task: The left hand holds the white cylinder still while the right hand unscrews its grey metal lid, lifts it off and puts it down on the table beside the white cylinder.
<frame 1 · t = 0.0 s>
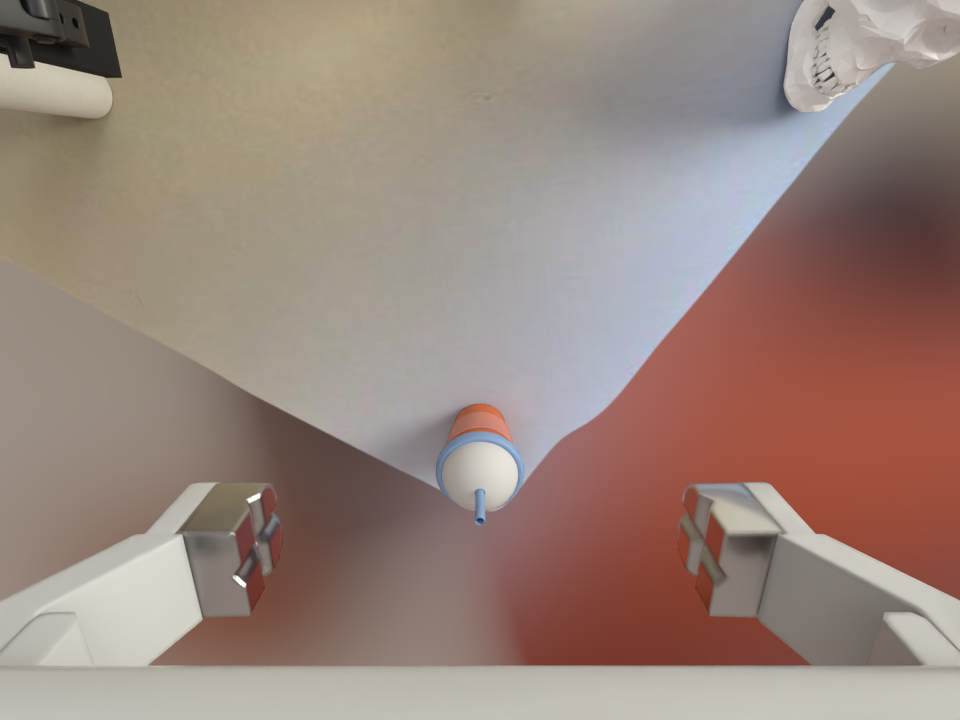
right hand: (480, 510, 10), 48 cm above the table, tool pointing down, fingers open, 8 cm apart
cup with straw: (479, 425, 64), on the table
white cylinder: (88, 92, 51), on the table
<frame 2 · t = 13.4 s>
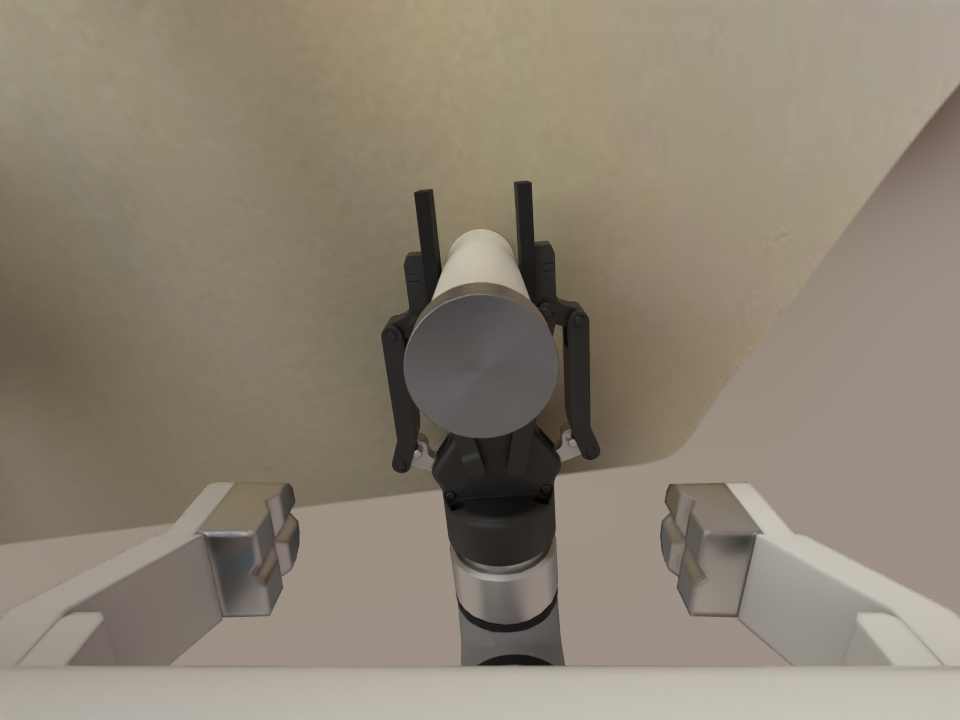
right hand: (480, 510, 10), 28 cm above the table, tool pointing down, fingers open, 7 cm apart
left hand: (472, 187, 29), fingers closed on white cylinder, 5 cm apart
white cylinder: (480, 263, 36), on the table, touching left hand
lid: (481, 366, 18), point 20 cm above the table, screwed on, not yet turned
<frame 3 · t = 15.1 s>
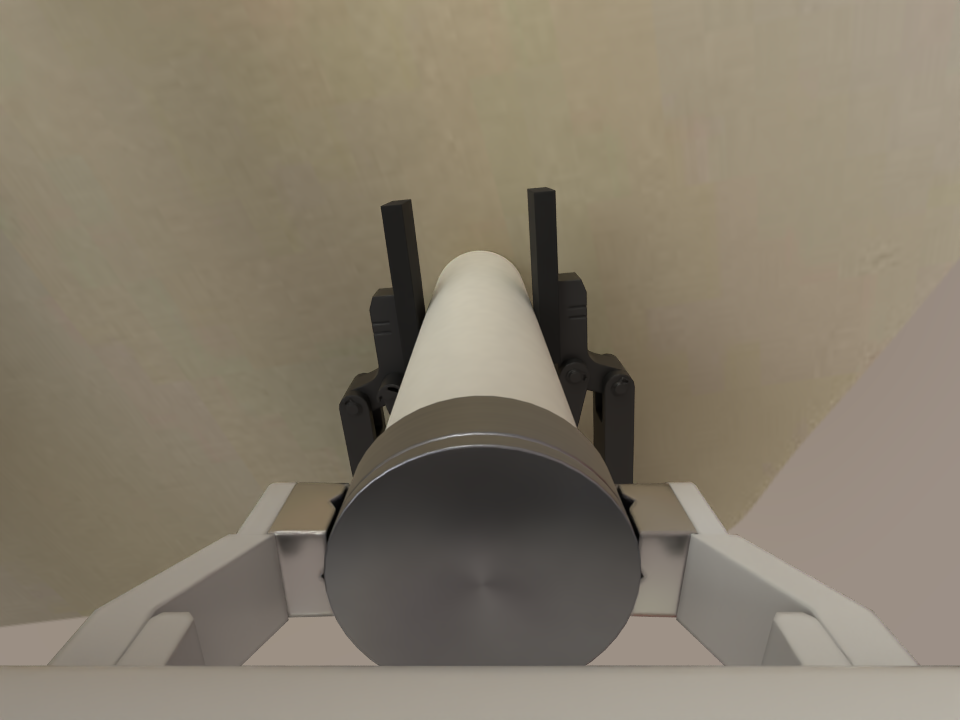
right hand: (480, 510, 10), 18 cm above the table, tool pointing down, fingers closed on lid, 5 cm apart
white cylinder: (480, 295, 27), on the table, touching left hand
lid: (482, 569, 9), point 20 cm above the table, screwed on, not yet turned, touching right hand
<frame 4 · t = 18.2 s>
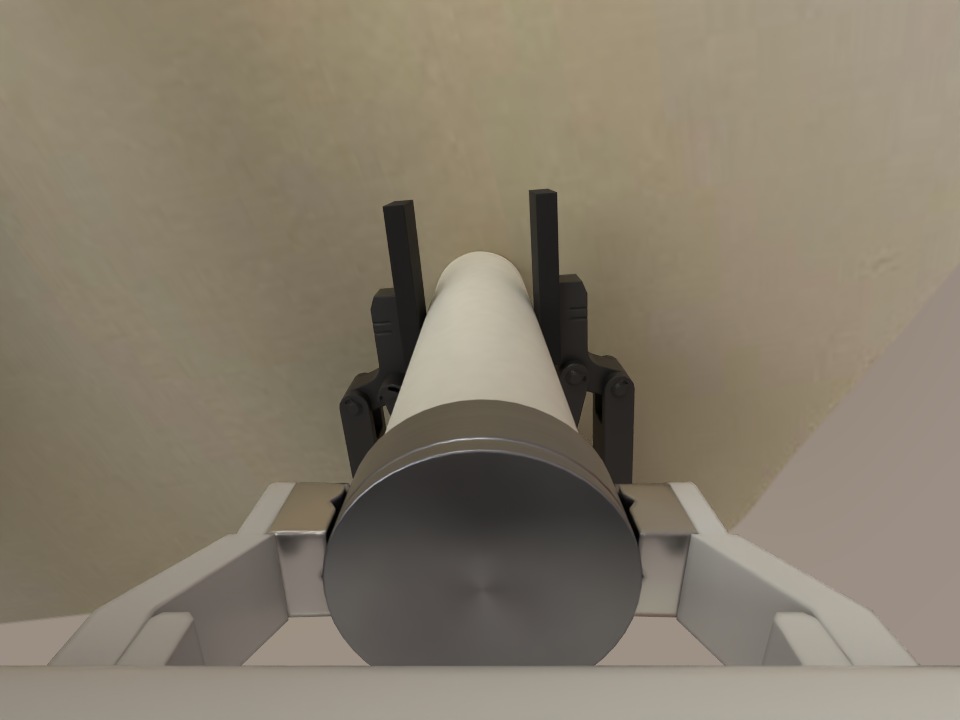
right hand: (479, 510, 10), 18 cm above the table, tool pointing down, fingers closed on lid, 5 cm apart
white cylinder: (480, 296, 27), on the table, touching left hand
lid: (482, 574, 9), point 20 cm above the table, turned 74° so far, risen 0.1 cm, still on its thread, touching right hand
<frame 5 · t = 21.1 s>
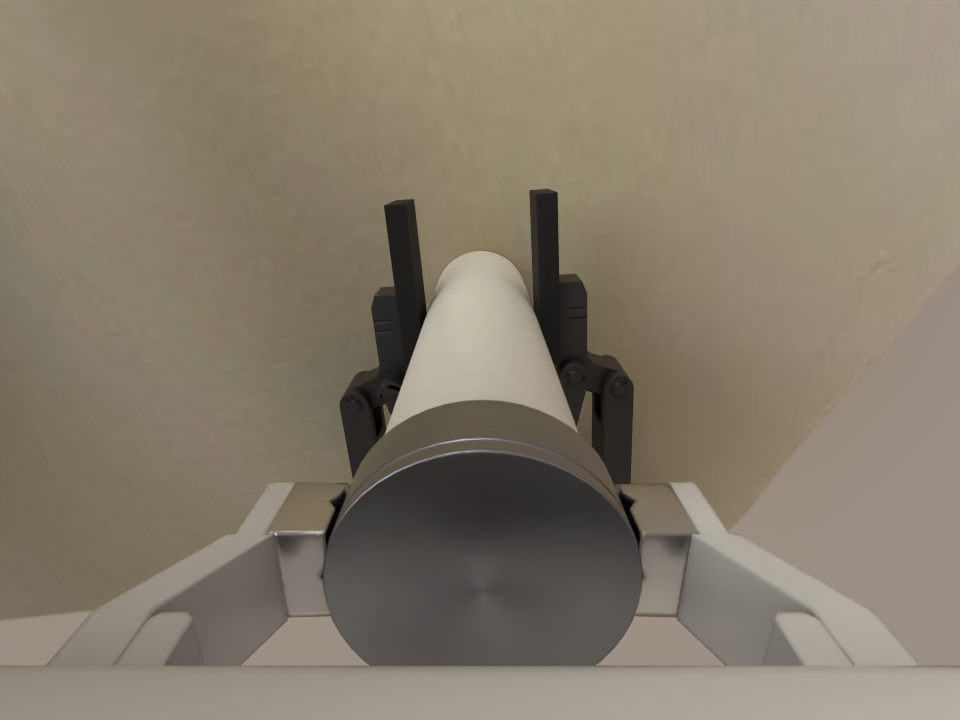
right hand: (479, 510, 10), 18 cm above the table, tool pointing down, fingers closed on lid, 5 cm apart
white cylinder: (480, 295, 28), on the table, touching left hand
lid: (482, 574, 9), point 20 cm above the table, turned 148° so far, risen 0.2 cm, still on its thread, touching right hand
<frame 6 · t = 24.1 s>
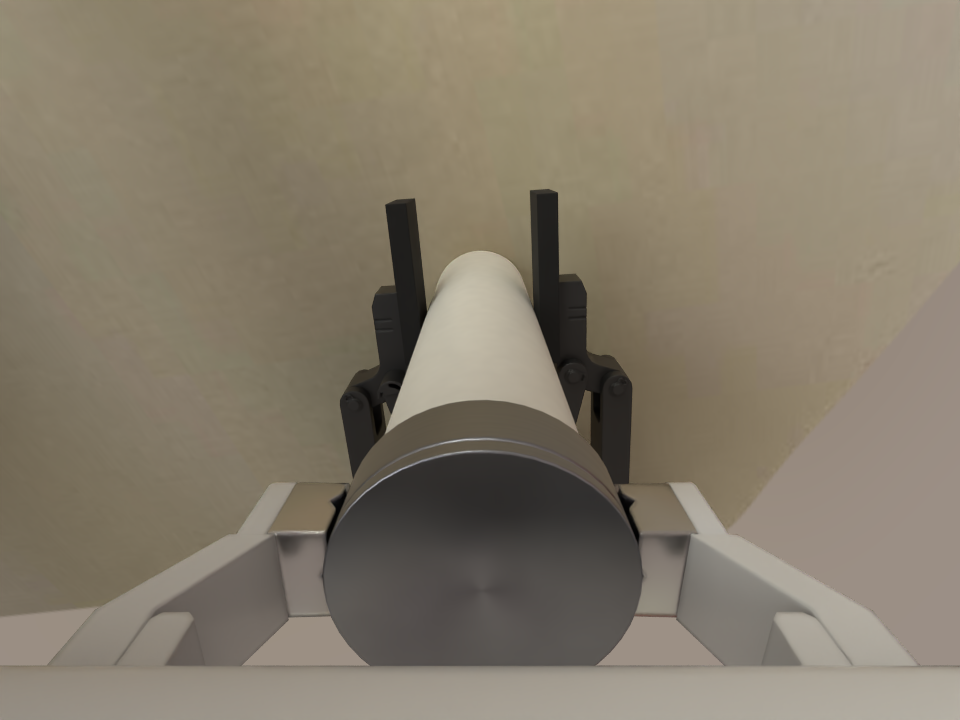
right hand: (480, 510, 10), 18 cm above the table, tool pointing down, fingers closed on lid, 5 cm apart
white cylinder: (480, 295, 28), on the table, touching left hand
lid: (482, 574, 9), point 20 cm above the table, turned 221° so far, risen 0.3 cm, still on its thread, touching right hand
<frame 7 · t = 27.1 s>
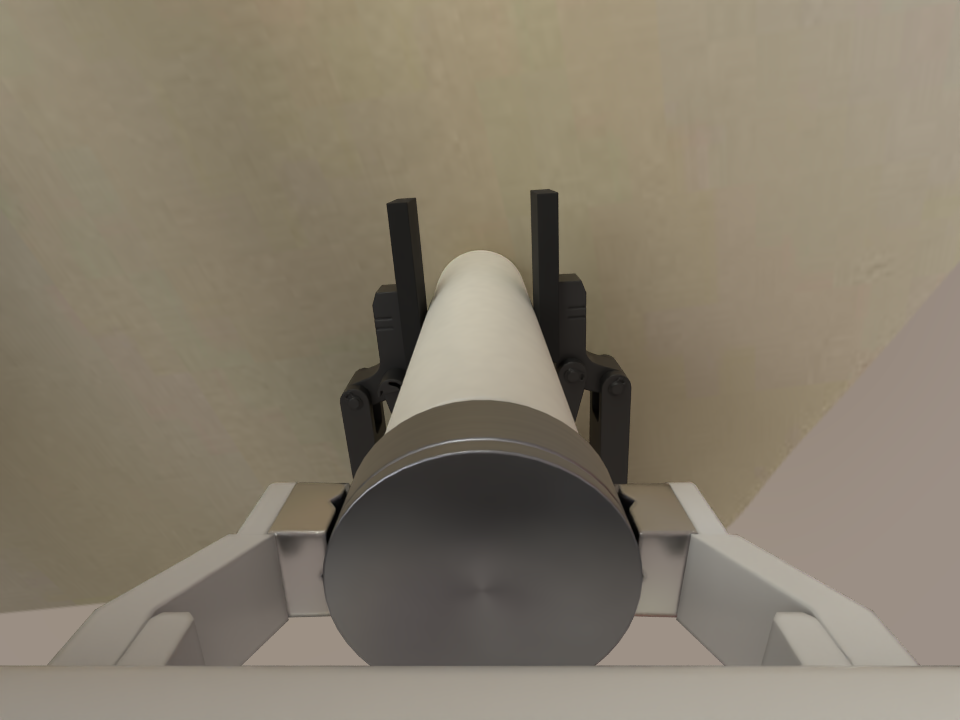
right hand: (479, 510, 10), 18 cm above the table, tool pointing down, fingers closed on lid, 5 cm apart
white cylinder: (480, 294, 28), on the table, touching left hand
lid: (482, 574, 9), point 20 cm above the table, turned 295° so far, risen 0.4 cm, still on its thread, touching right hand
when the right hand's fingers open (2 cm above the table, at t = 34.2 s): lid drops 2 cm, point 1 cm above the table.
when the left hand's fingers open (6 cm above the table, at t = 35.1 s): white cylinder stays where it is, on the table.
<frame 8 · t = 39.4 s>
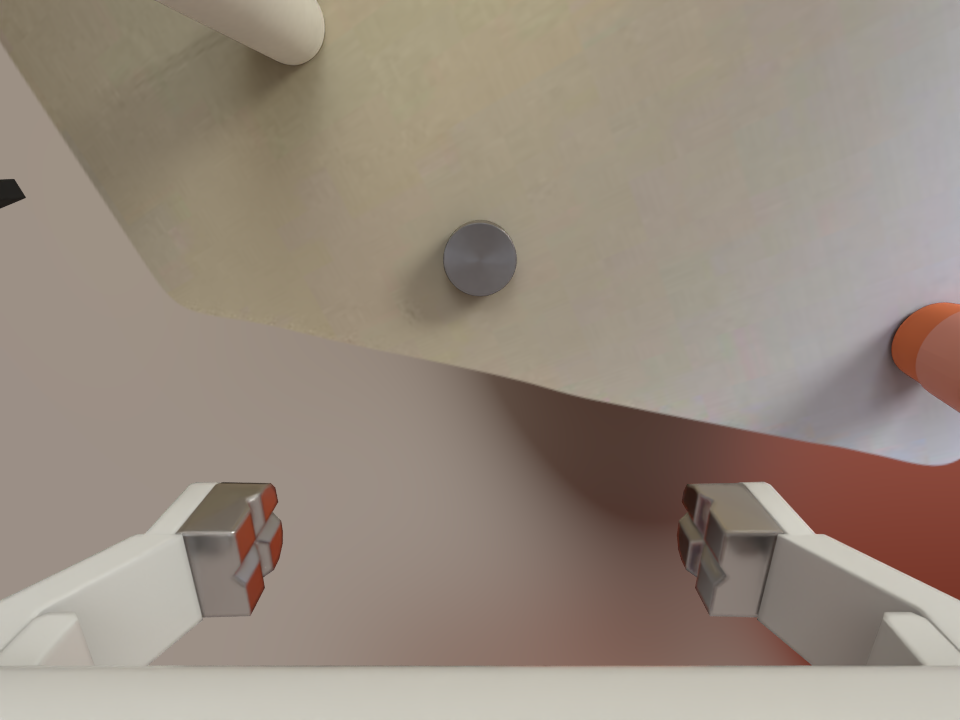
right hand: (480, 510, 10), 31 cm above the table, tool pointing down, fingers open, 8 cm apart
cup with straw: (928, 338, 42), on the table
white cylinder: (288, 24, 34), on the table
lid: (480, 259, 38), point 1 cm above the table, off its thread
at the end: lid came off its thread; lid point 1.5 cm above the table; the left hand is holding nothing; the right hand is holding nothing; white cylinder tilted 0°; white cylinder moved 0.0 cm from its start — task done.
